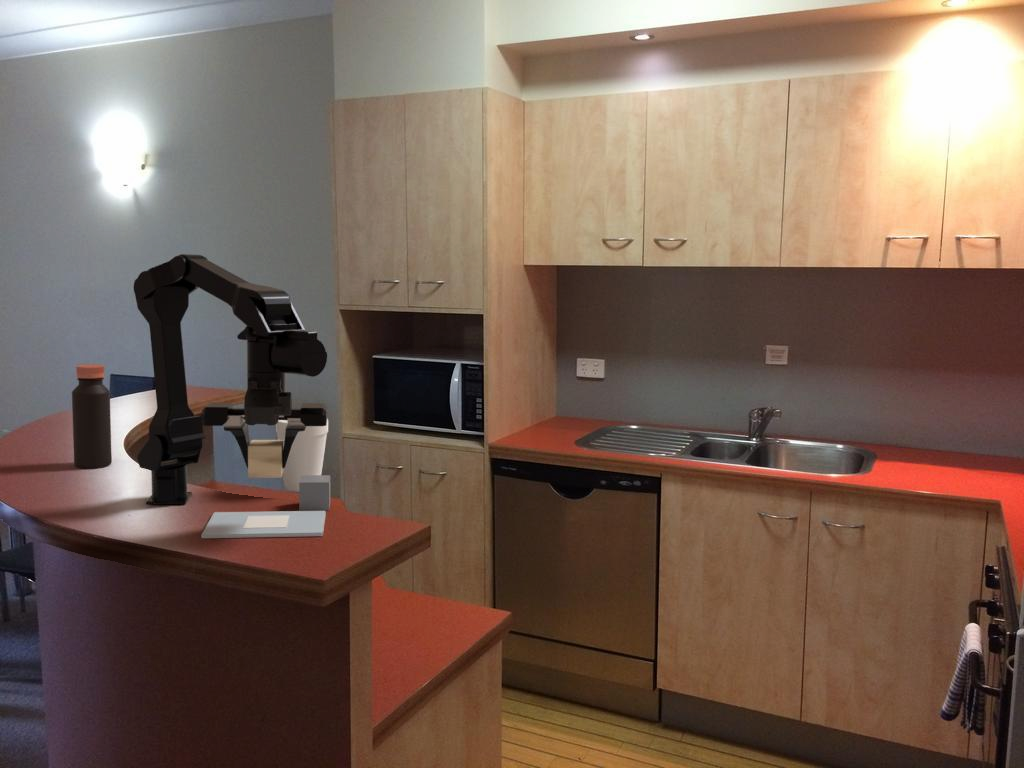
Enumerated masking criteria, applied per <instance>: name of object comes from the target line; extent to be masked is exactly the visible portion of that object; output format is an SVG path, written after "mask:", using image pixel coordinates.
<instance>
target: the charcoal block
mask: <svg viewBox="0 0 1024 768" xmlns="http://www.w3.org/2000/svg"><path fill="white" fill-rule="evenodd" d="M298 493H299V496H298V498H299V499H298V501H299V503H298V506H299V510H298V511H330V508H331V507H330V506H331V475H327V474H326V475H323V474H321V475H301V478H300V482H299V492H298Z"/></svg>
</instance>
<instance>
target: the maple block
mask: <svg viewBox="0 0 1024 768" xmlns="http://www.w3.org/2000/svg"><path fill="white" fill-rule="evenodd" d="M249 442H250V444H249V446H248V468H247V469H248V470H247V478H248V479H278V478H281V479H282V478H283V471H284V468H282V456H283V449H284V440H278V439H252V440H250V441H249Z"/></svg>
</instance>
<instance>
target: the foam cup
mask: <svg viewBox="0 0 1024 768" xmlns="http://www.w3.org/2000/svg"><path fill="white" fill-rule="evenodd" d="M287 424H288V420H278V423H277V424H275V432H276V433H277V440H284V441H285V431H286V427H287ZM328 433H329V419H328V417H327V424H326V426H306V429H305V431H299V432H298V433H297V435H296V438H295V440H294V442H293V444H292V447H291V450H290V453H289V456H288V459H287V463H286V466H285V468H284V471H283V474H282V478H283V485H284V489H285V490H286V491H289V492H295V493H299V482H300V478H301V475H322V474H323V473H322V472H323V464H324V458H325V450H326V444H327V443H326V442H327V436H328Z"/></svg>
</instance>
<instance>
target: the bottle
mask: <svg viewBox="0 0 1024 768" xmlns="http://www.w3.org/2000/svg"><path fill="white" fill-rule="evenodd" d="M104 377H105V365H103V364H80V365H77V366H76V380H77V381H78V384H77V386H76V387H75V388H74V389H73V390H72V391H71V408H72V434H73V435H72V439H73V443H72V444H73V465H74V466H75V467H76V468H79V469H85V470H86V469H99V468H100V469H101V468H105V467H108V466H111V465H112V461H113V460H112V427H111V423H112V422H111V392H110V389H109V388H108V387H106V386H105V385H104V383H103V382H104V381H103V380H104Z"/></svg>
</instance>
